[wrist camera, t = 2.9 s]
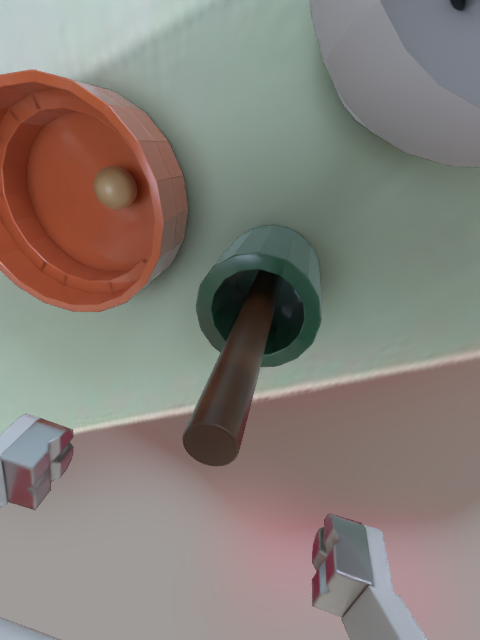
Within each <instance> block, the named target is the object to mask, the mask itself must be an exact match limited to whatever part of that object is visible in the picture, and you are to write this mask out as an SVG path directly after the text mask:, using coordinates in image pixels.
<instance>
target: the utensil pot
mask: <svg viewBox="0 0 480 640" xmlns="http://www.w3.org/2000/svg"><path fill="white" fill-rule="evenodd" d="M259 269H260V270H263V271H267V272H270V273H274V274H277V275H279V276H281V277H282V278H283V280H282V284H281V288H280V292H279V295H278V299H277V303H276V307H275V311H274V315H273V319H272V323H271V327H270V331H269V335H268V339H267V343H266V347H265V351H264V355H263V359H262V363H261V367H275V366H279V365H282V364H284V363H287V362H289V361H292V360H294V359H296V358H298V357H299V356H300V355H301V354H302V353H303V352H304V351H305V350H306V349H307V348H308V347H309V346H311V345H312V344H313V342H314V340H315V337H316V335H317V332H318V330H319V327H320V324H321V289H320V268H319V260H318V258H317V255H316V253H315V251H314V249H313V247H312V246H311V244H310V243H309V242H308V241H307V240H306V239H305V238H304V237H303V236H302V235H300V234H299V233H297V232H296V231H294V230H292V229H289V228H287V227H283V226H278V225H265V226H260V227H257V228H254V229H252V230H250V231H248V232H246V233H245V234H243V235H242V236H240V237H239V238H237V240H236V241H235V242H234V243H233V244H232V245H231V247H230V248H229V249H228V250H227V251H226V252H225V254H224V255H223V256H222V257H221V258H220V259H219V261H218V262H217V263H216V264H215V265H214V266H213V268H212V269H211V270H210V272H209V273H208V275H207V276H206V277H205V279H204V280H203V281H202V283H201V284H200V287H199V292H198V297H197V302H196V311H197V315H198V320H199V324H200V328H201V330H202V332H203V333H204V335H205V336H206V338H207V339H208V340H209V342H210V343H211V345H212V346H213V347H214V348H215V349H217V350H218V351H219V352H221V351H222V349H223V347H224V345H225V343H226V340H227V338H228V336H229V334H230V332H231V330H232V327H233V325H234V323H235V321H236V319H237V317H238V315H239V312H240V310H241V308H242V306H243V304H244V302H245V299H246V297H247V295H248V293H249V291H250V289H251V286H252V284H253V282H254V280H255V278H256V276H257V274H258V271H259Z"/></svg>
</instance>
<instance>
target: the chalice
mask: <svg viewBox="0 0 480 640" xmlns="http://www.w3.org/2000/svg"><path fill="white" fill-rule="evenodd" d="M310 7H311V16H312V20H313V24H314V27H315V31H316V35H317V39H318V42H319V46H320V50H321V53H322V57H323V61H324V65H325V67H326V68H327V70H328V72H329V74H330V76H331V78H332V82H333V84H334V86H335V88H336V91H337V93H338V95H339V97H340V99H341V101H342V103H343V105H344V106H345V107H346V109H347V110H348V111H349V112H350V113H351V115H352V116H353V117H354V118H355V120H356V121H357V122H359V123H360V124H361V125H363V126H364V127H366V128H367V129H368V130H370V131H371V132H373V133H374V134H376V135H378V136H379V137H381V138H382V139H384V140H385V141H387V142H389V143H390V144H392V145H393V146H395V147H397V148H398V149H400V150H401V151H403V152H405V153H408V154H411V155H415V156H418V157H421V158H425V159H428V160H431V161H435V162H438V163H441V164H445V165H448V166H465V167H480V0H310Z"/></svg>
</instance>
